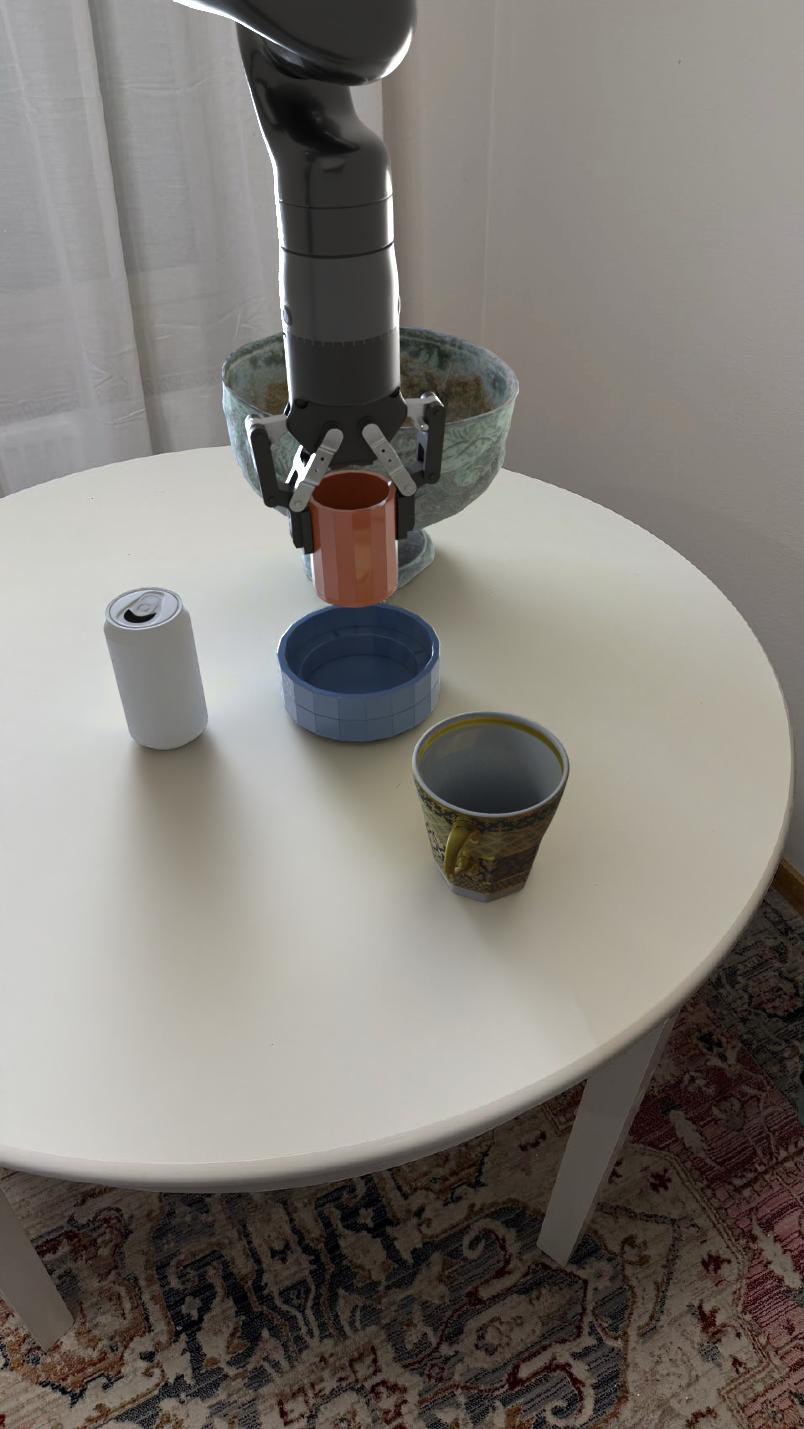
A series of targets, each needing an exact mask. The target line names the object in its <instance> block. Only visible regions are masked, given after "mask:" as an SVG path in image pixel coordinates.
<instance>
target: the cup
mask: <svg viewBox="0 0 804 1429" xmlns="http://www.w3.org/2000/svg"><path fill="white" fill-rule="evenodd" d="M307 505H308V508H309V510H310V516H311V528H312V540H313V554H310V558H311V569H312V579H311V582H312V584H313V590H314V593H315V594H316V596H318V597H319V599H321V600H322V601H324V602H325V603H327V604H330V605H336V606H340V607H348V608H358V607H366V606H371V605H375V604H378V603H383V602H385V601H386V600H388V599H389V598H390V597H392V596H393V595H394V594H395V592H396V591H397V590H396V588H397V585H398V541H397V495H396V487H395V486H394V484H393V482H392V481H391V480H390V479H388V478H387V477H385V476H383V475H381V474H378V473H374V472H370V471H366V470H344V471H337V472H331V473H329V474H326V475H324V476H323V478H322V480H321V482H320V484H319V486H317V487H315V489H314V491H313V493H312V495H311V497H310V499H309V501H308V503H307ZM395 590H396V591H395Z"/></svg>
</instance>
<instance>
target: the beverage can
mask: <svg viewBox="0 0 804 1429" xmlns="http://www.w3.org/2000/svg"><path fill="white" fill-rule="evenodd" d="M104 616H105V620H104V623H103V626H102V628H103V633H104V637H105V638H104V639H105V641H106V646H107V649H108V653H109V657H110V662H111V665H112V669H113V674H114V678H115V681H116V685H117V689H118V692H119V697H120V701H121V705H122V708H123V713H124V717H125V719H126V726H127V728H128V732H129V735H130V737H131V738H132V739H133V740H134V741H135V742H137V744H139V745H142V746H144V747H147V748H150V749H153V750H158V751H167V750H168V751H170V750H174V749H178V748H181V747H183V746H185V745H187V744H189V743H191V742H192V741H193V740H195V739H197V738H199V736H200V735H202V733H203V732H204V730H206V727H207V726H208V722H209V713H208V708H207V707H208V706H207V702H206V695H205V690H204V686H203V685H204V684H203V679H202V674H201V669H200V663H199V657H198V652H197V646H196V642H195V636H194V630H193V625H192V618H191V614H190V611H189V610H188V608H187V607H186V606H185V605H184V604H183V599H182V598H181V596H180V595H179V594H177V593H176V592H175V591H174V590H171V589H168V588H164V587H159V586H147V587H146V586H145V587H139V588H135V589H131V590H127V591H126V592H125V591H124V592H123V593H121V594H119V595H117V596H116V597H114V598H113V599H112V600H111V601H110V602H109V603H108V604H107V606H106V607H105V611H104Z"/></svg>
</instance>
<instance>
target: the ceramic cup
mask: <svg viewBox="0 0 804 1429" xmlns="http://www.w3.org/2000/svg"><path fill="white" fill-rule="evenodd" d="M411 767H412V776H413V782H414V786H415V791H416V795H417V799H418V803H419V806H420V808H421V811H422V814H423V818H424V823H425V828H426V831H427V835H428V839H429V844H430V849H431V852H432V853H431V854H432V856H433V859H434V864H435V866H436V868H437V870H438V871H439V872H440V875H441V876H442V877H443V879H444V881H445V882H446V883H447V885H448V887H449V889H450V890H451V892H452V893H453V894H456V895H459V896H462V897H466V898H469V899H472V900H476V901H479V902H483V903H490V902H493V901H496V900H499V899H501V898H504V897H507V896H509V895H513V894H515V893H518V892H520V891H522V890H523V889H524V888H525V886H526V883H527V881H528V878H529V876H530V874H531V871H532V868H533V866H534V863H535V860H536V858H537V855H538V851H539V850H540V845H541V843H542V840H543V838H544V836H545V834H546V833H547V831H548V829H549V827H550V826H551V824H552V822H553V819H554V818H555V815H556V813H557V811H558V809H559V805H560V803H561V801H562V799H563V796H564V793H565V790H566V786H567V784H568V780H569V776H570V771H571V770H570V768H571V766H570V759H569V756H568V753H567V751H566V749H565V747H564V745H563V743H562V742H561V741H560V739H559V738H558V737H557V736H556V735H555V734H554V733H553V732H551V730H549V729H547V728H546V727H545V726H544V725H542V724H540V723H538V722H536V721H535V720H533V719H530V718H528V717H525V716H522V715H519V714H516V713H511V712H507V711H499V710H475V711H469V712H463V713H459V714H455V715H452V716H450V717H447V718H445V719H443V720H441V721H439V722H437V723H436V724H434V725H432V726H431V727H430V728H428V729H427V730H426V731H425V732H424V733H423V735H422V736H421V737H420V738H419V739H418V741H417V742H416V745H415V747H414V750H413V753H412V757H411Z"/></svg>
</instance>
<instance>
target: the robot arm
mask: <svg viewBox="0 0 804 1429" xmlns="http://www.w3.org/2000/svg"><path fill="white" fill-rule="evenodd" d="M173 2H176V3H179V4H181V5H184V6H186V7H189V8H192V9H196V10H199V11H204V12H208V13H213V14H217V15H219V16H223V17H226V18H228V19H232V20H233V21H234V25H235V32H236V39H237V45H238V50H239V55H240V59H241V64H242V67H243V71H244V74H245V78H246V81H247V85H248V88H249V89H248V90H249V92H250V94H251V99H252V103H253V106H254V110H255V114H256V116H257V120H258V124H259V128H260V131H261V134H262V137H263V139H264V143H265V146H266V149H267V152H268V153H269V157H270V160H271V164H272V169H273V178H274V196H275V205H276V217H277V228H278V239H279V267H278V268H279V269H278V271H279V272H278V281H279V282H278V284H279V298H280V309H281V320H282V332H283V333H284V344H285V355H286V366H287V377H288V388H289V401H288V404H287V407H286V409H285V411H284V414H281V415H276V416H271V417H266V418H261V417H260V416H259V415H257V414H250V415H249V416H247V418H246V419H245V426H246V431H247V435H248V440H249V445H250V449H251V454H252V459H253V463H254V468H255V473H256V477H257V482H258V487H259V490H260V492H261V493H262V498H263V499H262V498H261V499H262V502H263V504H264V506H266V507H267V508H270V509H274V507H276V506H282V507H285V508H287V512H288V517H287V520H288V521H287V522H288V531H289V536H290V539H291V541H292V544H293V546H294V547H295V549H296V550H298V549H301V551H302V555H303V554H304V555H307V554H313V540H312V528H311V516H310V510H309V508H308V505H307V503H308V501H309V499H310V497H311V495H312V493H313V491H314V489H315V487H317V486H319V484H320V482H321V480H322V478H323V476H324V474H325V472H326V470H327V468H328V467H329V469H330V470H337V469H342V468H344V467H347V466H350V465H359V466H366V465H373V461H375V460H377V459H379V461H380V462H381V464H382V465H383V467H384V468H385V470H386V471H387V473H388V474H389V476H390V477H391V478H392V480H393V481H394V486H395V487H396V495H397V540H403V539H407V532H408V531H413V528H414V526H415V493H416V491H417V489H418V488H419V487H421V486H423V485H425V484H430V485H432V484H435V483H437V482H438V481H439V479H440V474H441V463H442V453H443V442H444V432H445V422H446V409H445V407H444V406H443V404H442V403H441V402H440V400H439V399H438V398H437V396H436V395H435V394H434V393H433V392H425V393H424V394H423V395H422V396H421V398H414V399H403V397H402V394H401V391H400V344H399V325H400V312H401V311H402V310H401V308H402V306H401V304H402V303H401V297H400V294H399V293H400V292H399V291H400V290H399V274H398V267H397V260H396V253H395V243H394V241H395V240H394V237H395V236H394V194H393V190H394V188H393V170H392V161H391V155H390V151H389V148H388V146H387V144H386V142H385V141H384V140H383V139H382V138H381V136H379V135H378V134H377V133H376V132H375V131H374V130H372V129H371V128H369V127H368V126H367V125H366V124H365V123H364V122H363V121H362V120H361V119H360V118H359V115H358V114H357V112H356V109H355V105H354V101H353V97H352V93H351V87H361V86H367V85H371V84H373V83H376V82H378V81H381V80H383V79H384V78H386V77H387V76H388V75H390V74H391V73H392V72H393V71H394V70H396V69H397V68H398V67H399V66H400V64H401V63H402V62H403V60H404V59H405V57H406V55H407V54H408V52H409V50H410V48H411V47H412V44H413V41H414V38H415V34H416V30H417V24H418V0H173ZM406 417H411V421H412V423H413V425H414V427H415V428H416V429H417V430H418V435H417V447H416V460H415V462H414V463H412V464H410V465H408V466H406V467H405V466H404V464H403V463H402V461H401V460H400V458H399V457H398V455H397V454H396V452H395V450H394V449H393V447H392V446H391V444H390V442H391V441H392V439H393V438H394V436H395V435H396V433H397V432H398V430H399V429H400V427H401V426H402V424H403V423H404V421H405V419H406ZM286 432H289V433H290V434H291V436H292V437H293V438H294V439H295V440H296V441H297V442H298V443H299V444H300V448H299V450H298V452H297V454H296V456H295V459H294V466H293V469H292V471H291V473H290V475H289V477H288V479H287V482H286V483H285V482H279V481H277V478H276V473H275V468H274V463H273V458H272V453H271V452H272V451H275V450H277V449H278V448H279V446H280V439H281V437H282V435H283V434H284V433H286Z"/></svg>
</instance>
